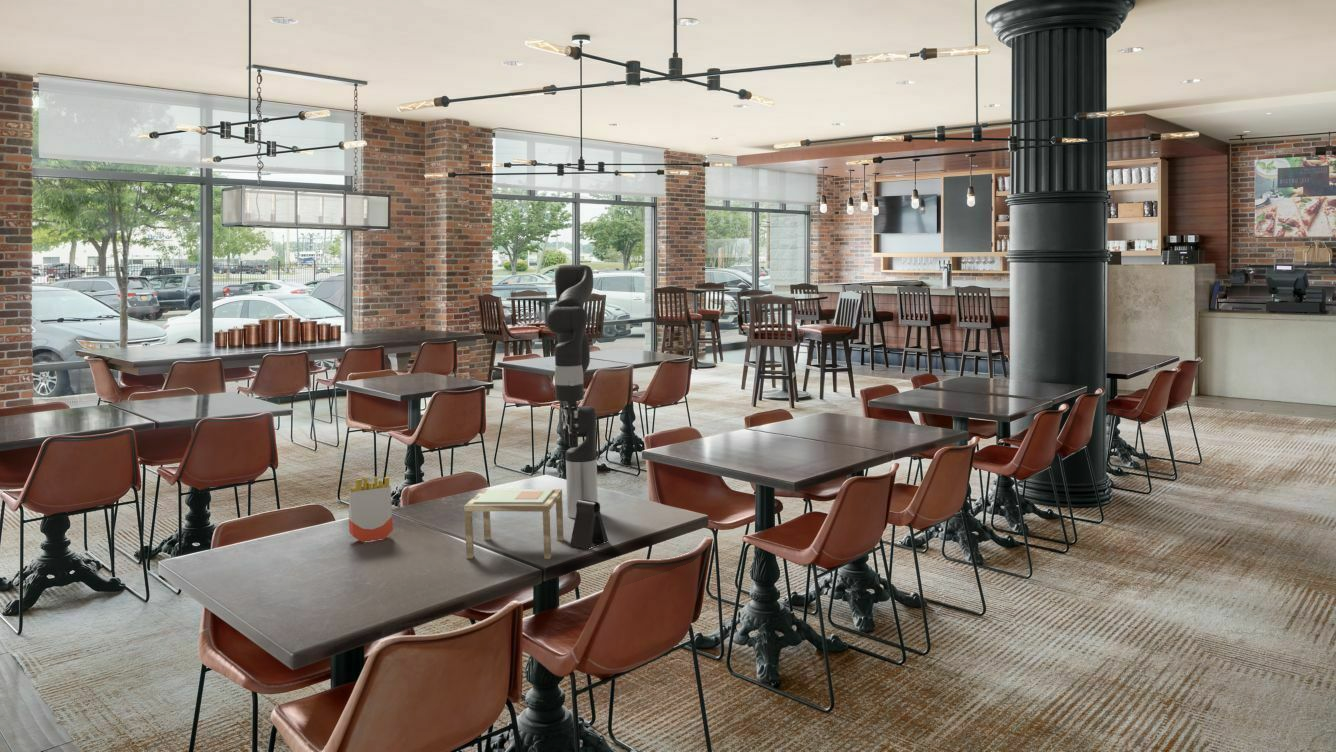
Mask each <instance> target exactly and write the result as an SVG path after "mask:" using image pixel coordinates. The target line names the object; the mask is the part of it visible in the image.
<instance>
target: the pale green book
mask: <svg viewBox="0 0 1336 752" xmlns="http://www.w3.org/2000/svg"><path fill="white" fill-rule="evenodd" d="M552 494H553V488H552V489H551V488H550V489H549V488H544V489H543V488H541V489H540V488H538V489H537V488H535V489H534V488H531V489H530V488H529V489H527V488H526V489H525V488H523V489H521V488H520V489H519V488H515V489H514V488H511V489H509V488H505V489H504V488H501V489H500V488H498V489H497V488H494V489H493V488H489V489H488V490H487V491H486V492H485V493H484V494H483V495H481V496H480V497H479V498H478V499H477V500H476V501H474V504H544V503H545V502H546V501H547V500H548V499H549V498H550V496H551V495H552Z"/></svg>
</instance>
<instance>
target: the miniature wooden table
mask: <svg viewBox="0 0 1336 752" xmlns="http://www.w3.org/2000/svg"><path fill="white" fill-rule="evenodd" d="M552 489H553V488H552ZM487 490H488V489H487V488H486V489H485V488H483V489H482V490H481V491H480V492H478V493H477V494H476V495H475V496H474V497H473V498H472V499H470V500H469V501H468V502H466V504H465V505H464V507H463V509H464V511H463V512H464V525H465V526H464V528H465V529H464V532H465V548H466V549H465V551H466V552H465V553H466V559H473V558H474V557H475V550H474V546H475V545H474V528H473V527H474V525H473V512H482V518H483V519H482V521H483V537H484V538H483V540H484V541H490V540H491V539H492V532H491V531H492V530H491V512H522V513H523V512H525V513H527V512H532V513H533V512H535V513H536V512H538V513H539V512H542V529H543V530H542V532H543V533H542V535H543V556H544V557H543V559H545V560H551V558H552V542H551V541H552V539H551V538H552V535H551V513H550V512H551V509H552V508H553V507H554V506H555V514H556V517H555V518H556V541H563V540H564V509H563V505H564V504H563V489H562V488H561V489H559V488H558V489H556V488H555V489H553V494H552V495H551V496H550V497H549V499H548V500H547V501H546V502H545V503H544V504H474V501H476V500H477V499H478V498H479V497H480V496H481V495H483V494H484V493H485V492H486V491H487Z"/></svg>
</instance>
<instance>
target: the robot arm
mask: <svg viewBox="0 0 1336 752" xmlns="http://www.w3.org/2000/svg"><path fill="white" fill-rule="evenodd" d="M554 285H555V286H554V287H555V297H556V298H555V299H556V303H554V304H553V305H552V306H551V307H550V308H549V311H548V312H547V315H546V327H547V328H548V330H549V331H550V333H551V332H552V333H553V334H557V336H558V337H557V344H556V345H555V348H554V355H555V356H554V359H555V360H554V361H555V362H554V364H555V365H554V367H555V368H554V391H555V392H554V394H555V401H557V402H559V430H560V431H559V432H560V435H561V436H562V437H563V439H564V441H563V443H564V444H565V445H568V446H569V447H570V448H568V449H567V450H566V451H565V470H566V472H565V473H566V496H567V497H566V505H567V507H566V508H567V516H568V517H569V518H571V519H575V517H576V512H577V508H576V504H577V501H578V500H587V501H593V502H598V503H599V501H598V499H599V496H598V468H597V467H598V464H597V461H598V459H597V448H596V447H597V414H596V413H597V412H596V409H595V407H594V406H592V405H583V406H578V403H577V402H579V401H582V400H584V398H585V394H584V392H585V391H584V389H585V388H584V375H585V373H586V371H587V370H588V368H589V365H590V362H591V356H590V353H591V352H590V341H589V337H588V335H587V334H586V332H585V331H586V328H587V323H588V314H587V312H586V310H585V309H584V305H585V303H586V301H587V300H588V299H589V297H590V296H591V294H592V292H593V288H594V274H593V271H592V268H591V267H590V266H589V265H588V264H562V265H561V264H560V265H557V266H556V268H555V272H554ZM579 438H585V439H584V440H583V441H582V442H581V443H580V444H579Z"/></svg>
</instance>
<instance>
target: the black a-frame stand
mask: <svg viewBox="0 0 1336 752" xmlns="http://www.w3.org/2000/svg"><path fill="white" fill-rule="evenodd" d="M576 508H577V512H576V517H575V518H574V523H573V528H572V533H571V537H570V538H571V539H570V543H569V547H570V546H571V547H570V548H575V549H580V548H581V550H584V549H589V548H591V547H594V546H597V545H600V544H602V543H604V542H607V541H608V542H609V538H608V535H607V531H606V528H605V525H604V521H603V518H602V514H601V504H600V503H599V501H598V502H593V501H587V500H578V501H577V504H576ZM608 542H607V543H608ZM602 545H603V544H602ZM600 546H601V545H600ZM597 547H598V546H597ZM594 548H595V547H594ZM589 550H590V549H589Z"/></svg>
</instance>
